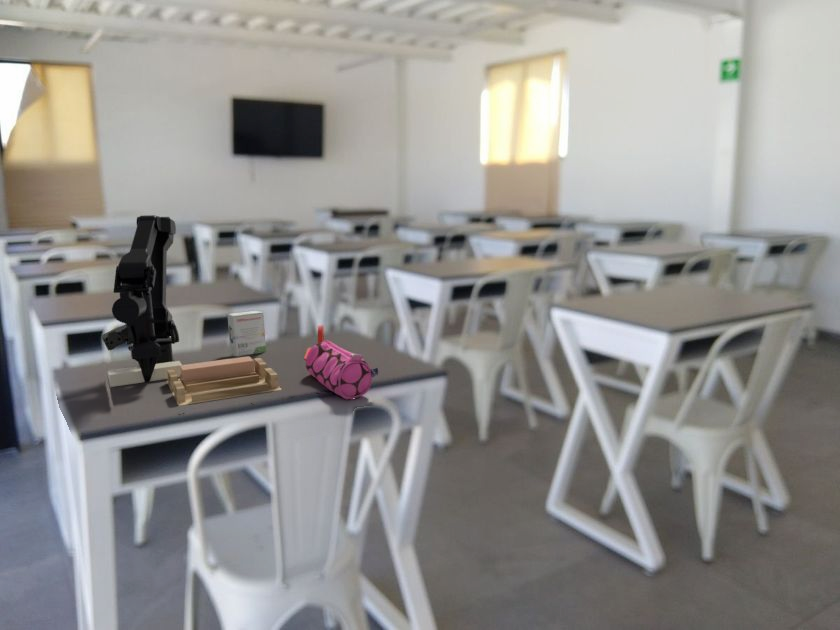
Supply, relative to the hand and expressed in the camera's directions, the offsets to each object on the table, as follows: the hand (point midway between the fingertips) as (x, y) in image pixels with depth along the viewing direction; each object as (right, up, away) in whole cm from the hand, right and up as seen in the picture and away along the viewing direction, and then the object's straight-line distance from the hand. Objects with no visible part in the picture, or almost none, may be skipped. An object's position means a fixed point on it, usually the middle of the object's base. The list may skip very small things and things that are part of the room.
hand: (146, 378), depth 165 cm
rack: (+20, -2, -6) cm, 21 cm away
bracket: (+37, +4, +21) cm, 42 cm away
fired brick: (+17, 0, -1) cm, 17 cm away
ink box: (+18, +4, +23) cm, 30 cm away
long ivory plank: (0, -1, 0) cm, 1 cm away
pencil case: (+46, -2, -6) cm, 47 cm away
